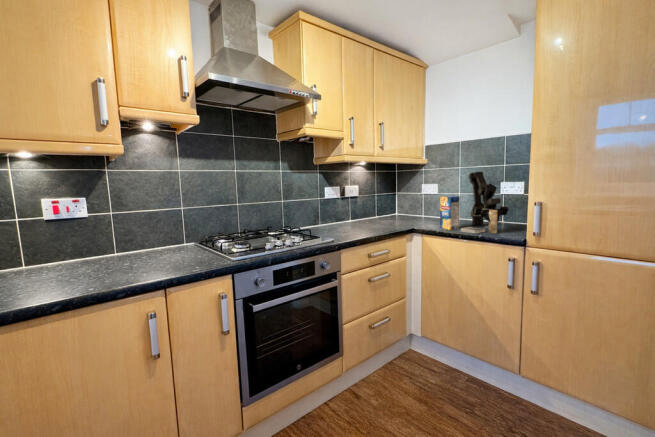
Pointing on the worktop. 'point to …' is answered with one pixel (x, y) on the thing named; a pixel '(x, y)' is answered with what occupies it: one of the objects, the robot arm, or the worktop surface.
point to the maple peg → (493, 221)
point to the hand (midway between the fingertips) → (493, 221)
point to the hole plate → (472, 230)
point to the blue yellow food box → (449, 212)
